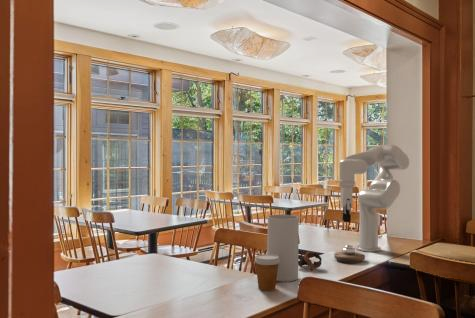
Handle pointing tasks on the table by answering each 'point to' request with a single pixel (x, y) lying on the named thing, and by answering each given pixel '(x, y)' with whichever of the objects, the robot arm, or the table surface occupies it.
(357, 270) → the table surface
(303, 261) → the brown ornate stand
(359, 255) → the disc
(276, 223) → the cylinder vase
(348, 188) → the robot arm
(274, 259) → the disposable coffee cup
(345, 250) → the cover
